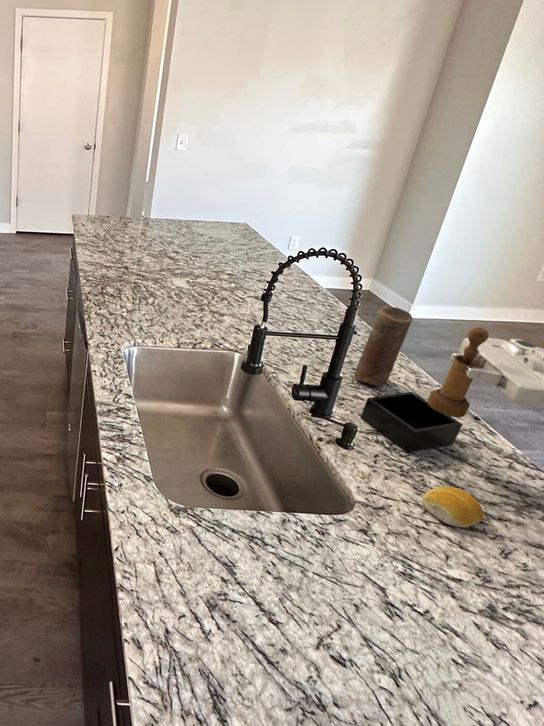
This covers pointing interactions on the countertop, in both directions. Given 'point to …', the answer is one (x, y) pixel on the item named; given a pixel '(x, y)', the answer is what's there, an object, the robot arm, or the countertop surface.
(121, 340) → the countertop surface
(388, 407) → the black open square box
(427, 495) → the bread roll
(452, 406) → the mortar and pestle
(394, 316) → the candle
